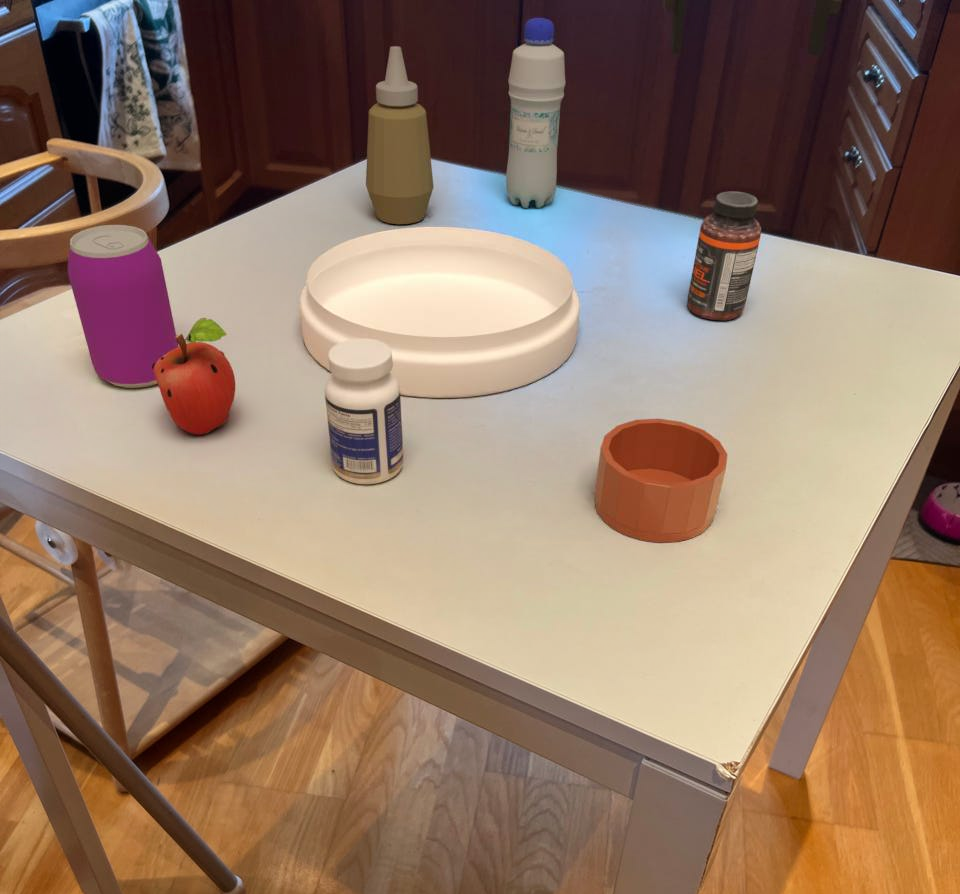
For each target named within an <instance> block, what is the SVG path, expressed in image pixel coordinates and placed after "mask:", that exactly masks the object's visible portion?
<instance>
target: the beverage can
mask: <svg viewBox="0 0 960 894" xmlns="http://www.w3.org/2000/svg"><path fill="white" fill-rule="evenodd" d="M67 261H68V262H67V276H68V279H69V283H70V286H71V290H72V294H73V296H74V301H75V305H76V308H77V312H78V317H79V320H80V323H81V327H82V331H83V334H84V339H85V342H86V346H87V349H88V353H89V356H90V360H91V364H92V366H93V370H94V372H95V374H97V376H98V377H99V378H100V379H102V380H105V381H106V382H108V383H109V384H111V385H113V386H115V387H120V388H125V389H140V388H141V389H142V388H148V387H151V386H156V385H158V384H157V381H156V378H155V374H154V370H153V369H152V365H153V364H154V363H156V362H157V361H158V360H159V359H160V358H161V357H162V356H164V355H165V354H166V353H168V352H170V351H171V350H173V349H175V348H177V347H179V344H178V343H177V341H176V339H175V337H177V332H176V327H175V322H174V317H173V312H172V307H171V302H170V298H169V292H168V288H167V283H166V278H165V273H164V268H163V263H162V258H161V257H160V255H159V253H158V251H157V250H156V248H155V246H154V245H153V243H152V242H151V240H150V238H149V236H148V234H147V232H146V231H144V229H141V228H139V227H136V226H132V225H126V224H107V225H99V226H94V227H89V228H86V229H83V230H81V231H79V232H77V233H75V234H73V236H72V237H71V238H70V239H69V251H68V260H67Z"/></svg>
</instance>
